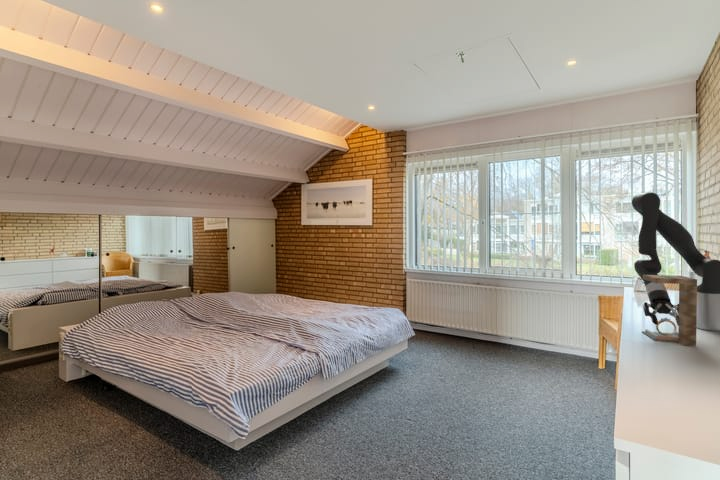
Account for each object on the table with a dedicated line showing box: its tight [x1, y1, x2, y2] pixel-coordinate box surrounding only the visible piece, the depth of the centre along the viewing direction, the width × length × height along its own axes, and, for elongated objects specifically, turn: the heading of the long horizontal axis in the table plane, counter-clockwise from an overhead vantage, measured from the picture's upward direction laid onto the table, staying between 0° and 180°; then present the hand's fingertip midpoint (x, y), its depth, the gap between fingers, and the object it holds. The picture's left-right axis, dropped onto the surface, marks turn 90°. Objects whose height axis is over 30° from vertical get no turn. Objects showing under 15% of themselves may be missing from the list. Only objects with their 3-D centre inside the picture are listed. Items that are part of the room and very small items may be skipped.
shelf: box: [643, 274, 698, 347], centre depth 165 cm, size 14×14×27 cm
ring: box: [655, 317, 677, 336], centre depth 170 cm, size 7×3×8 cm, turn 49°
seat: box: [641, 328, 679, 343], centre depth 170 cm, size 14×14×2 cm
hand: (668, 324), depth 169 cm, fingers open, 8 cm apart
